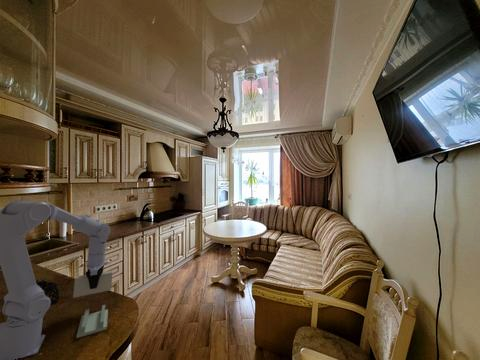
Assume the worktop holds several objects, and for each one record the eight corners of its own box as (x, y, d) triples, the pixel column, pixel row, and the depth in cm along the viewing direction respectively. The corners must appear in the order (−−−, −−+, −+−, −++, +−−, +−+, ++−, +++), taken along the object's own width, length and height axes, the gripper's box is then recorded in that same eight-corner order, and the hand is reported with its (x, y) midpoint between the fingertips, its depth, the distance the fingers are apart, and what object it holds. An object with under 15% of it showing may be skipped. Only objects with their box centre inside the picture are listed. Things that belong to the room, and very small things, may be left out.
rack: (76, 338, 61) (77, 328, 61) (81, 318, 70) (82, 310, 70) (106, 329, 65) (107, 320, 66) (107, 311, 75) (108, 303, 75)
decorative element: (62, 301, 80) (63, 287, 81) (45, 307, 76) (47, 292, 76) (43, 287, 92) (45, 274, 92) (28, 291, 87) (30, 278, 88)
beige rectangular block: (73, 297, 72) (74, 278, 73) (74, 294, 74) (76, 276, 75) (110, 290, 79) (112, 272, 79) (111, 287, 81) (112, 270, 81)
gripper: (107, 256, 74) (104, 292, 73) (109, 246, 86) (106, 277, 85) (84, 259, 70) (81, 297, 69) (89, 248, 82) (86, 281, 81)
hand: (93, 286), depth 77 cm, fingers closed on beige rectangular block, 2 cm apart
